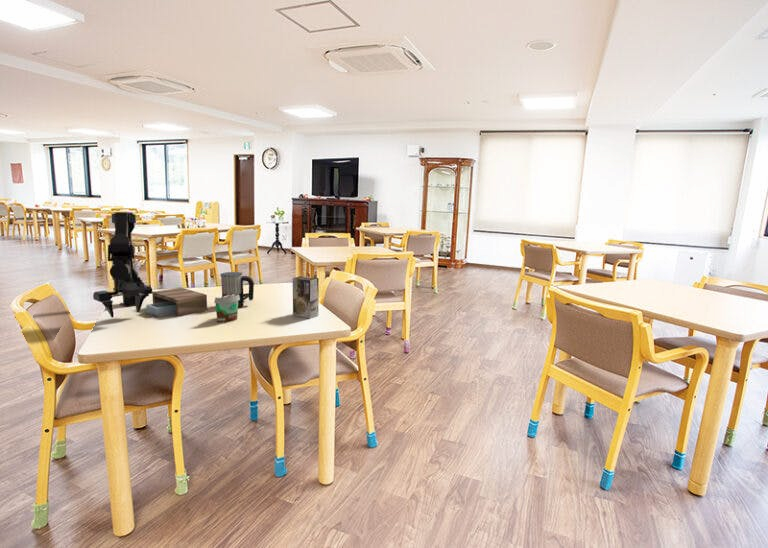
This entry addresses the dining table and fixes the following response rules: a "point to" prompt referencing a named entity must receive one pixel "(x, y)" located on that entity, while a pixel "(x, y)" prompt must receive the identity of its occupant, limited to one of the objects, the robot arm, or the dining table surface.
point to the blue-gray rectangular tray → (161, 308)
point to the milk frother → (236, 285)
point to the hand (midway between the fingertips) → (125, 314)
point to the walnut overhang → (182, 300)
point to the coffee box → (305, 296)
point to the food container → (227, 307)
